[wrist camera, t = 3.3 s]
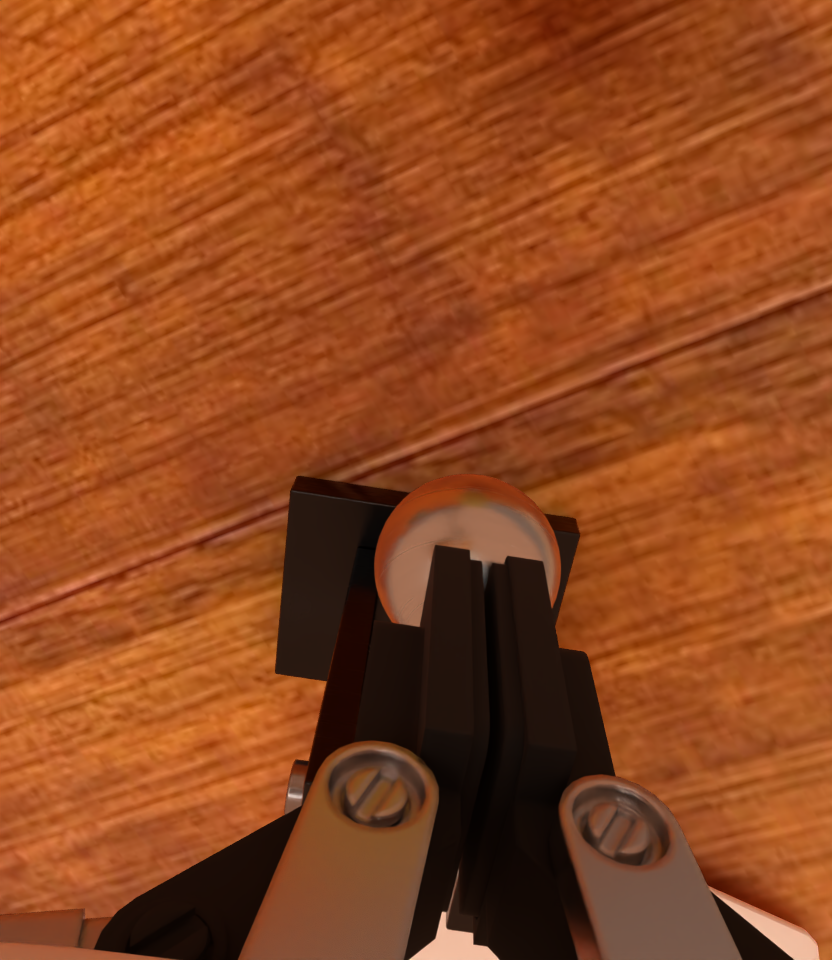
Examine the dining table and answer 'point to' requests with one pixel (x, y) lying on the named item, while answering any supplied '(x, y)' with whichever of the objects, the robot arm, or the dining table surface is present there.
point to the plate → (457, 956)
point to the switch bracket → (347, 612)
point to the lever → (458, 537)
